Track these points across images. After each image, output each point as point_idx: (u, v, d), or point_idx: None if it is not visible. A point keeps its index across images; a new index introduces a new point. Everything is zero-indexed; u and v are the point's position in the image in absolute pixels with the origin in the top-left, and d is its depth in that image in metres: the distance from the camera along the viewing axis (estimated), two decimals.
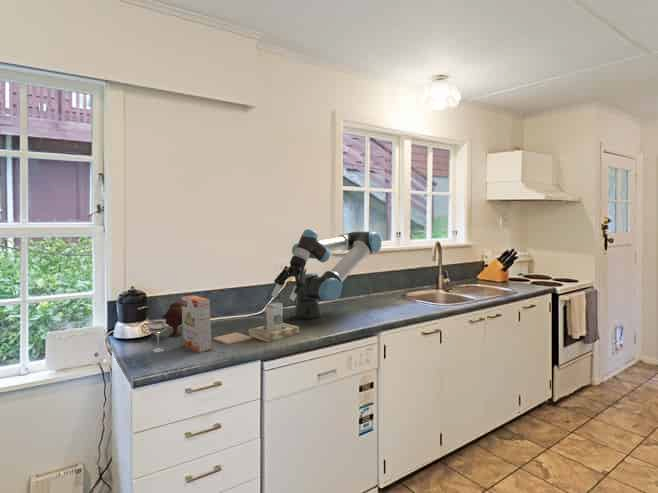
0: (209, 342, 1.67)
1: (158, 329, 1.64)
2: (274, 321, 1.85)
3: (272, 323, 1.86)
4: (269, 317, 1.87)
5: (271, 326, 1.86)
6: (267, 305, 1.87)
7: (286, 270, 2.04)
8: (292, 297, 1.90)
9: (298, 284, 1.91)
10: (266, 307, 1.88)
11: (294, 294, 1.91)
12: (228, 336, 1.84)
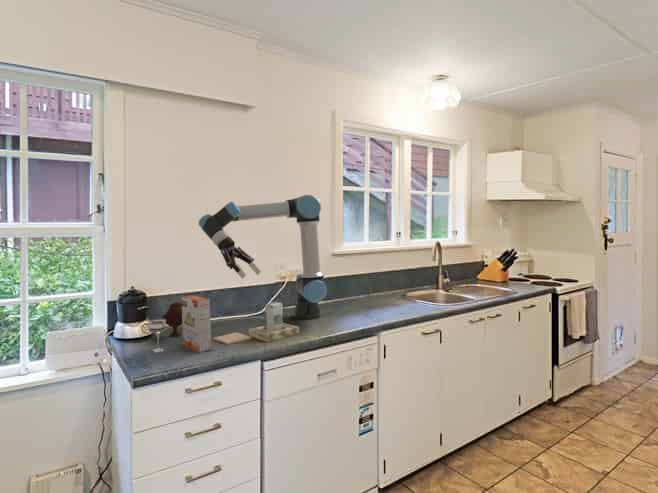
0: (209, 342, 1.67)
1: (158, 329, 1.64)
2: (274, 321, 1.85)
3: (272, 323, 1.86)
4: (269, 317, 1.87)
5: (271, 326, 1.86)
6: (267, 305, 1.87)
7: None
8: (242, 275, 1.85)
9: None
10: (266, 307, 1.88)
11: (240, 272, 1.85)
12: (228, 336, 1.84)
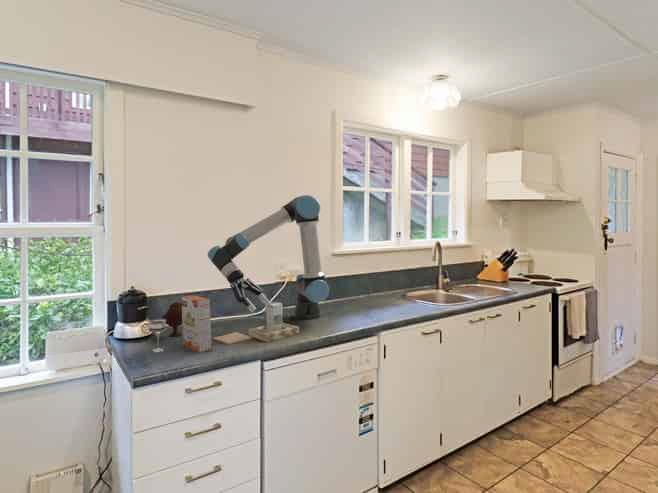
0: (209, 342, 1.67)
1: (158, 329, 1.64)
2: (274, 321, 1.85)
3: (272, 323, 1.86)
4: (269, 317, 1.87)
5: (271, 326, 1.86)
6: (267, 305, 1.87)
7: None
8: (251, 309, 1.83)
9: None
10: (266, 307, 1.88)
11: (249, 306, 1.84)
12: (228, 336, 1.84)
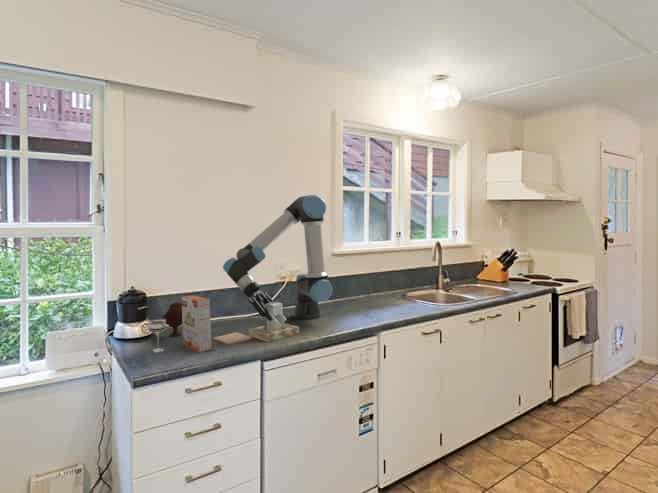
0: (209, 342, 1.67)
1: (158, 329, 1.64)
2: None
3: None
4: None
5: (271, 326, 1.86)
6: (267, 305, 1.87)
7: None
8: (274, 324, 1.84)
9: None
10: (266, 307, 1.88)
11: (272, 321, 1.84)
12: (228, 336, 1.84)
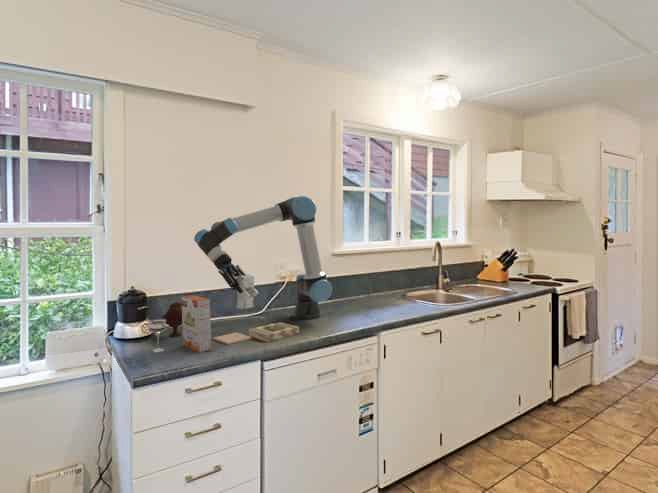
0: (209, 342, 1.67)
1: (158, 329, 1.64)
2: None
3: None
4: None
5: (241, 298, 1.81)
6: (238, 277, 1.82)
7: None
8: (245, 296, 1.79)
9: None
10: (237, 279, 1.82)
11: (243, 293, 1.79)
12: (228, 336, 1.84)
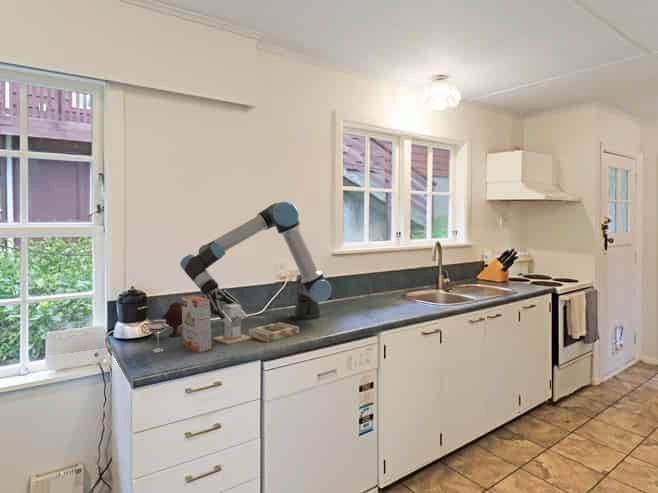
0: (209, 342, 1.67)
1: (158, 329, 1.64)
2: (232, 323, 1.79)
3: (230, 325, 1.79)
4: None
5: (229, 328, 1.80)
6: (225, 307, 1.81)
7: None
8: (227, 322, 1.75)
9: None
10: (224, 309, 1.81)
11: (225, 319, 1.76)
12: None
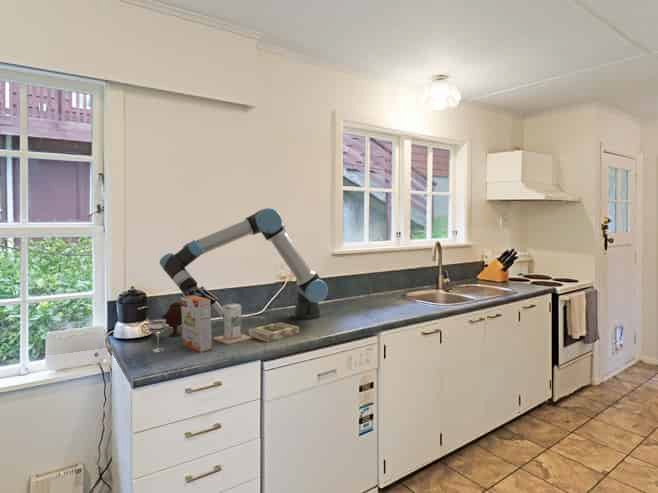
0: (210, 342, 1.67)
1: (158, 329, 1.64)
2: (232, 323, 1.79)
3: (230, 325, 1.79)
4: (227, 319, 1.80)
5: (229, 328, 1.80)
6: (225, 307, 1.81)
7: None
8: None
9: None
10: (224, 309, 1.81)
11: None
12: None
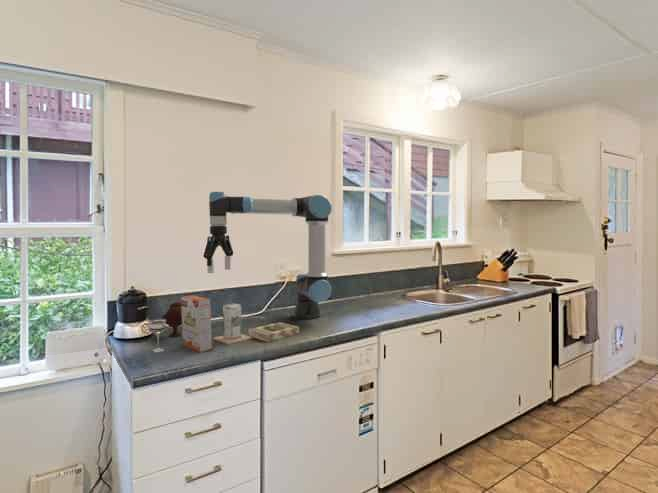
0: (210, 342, 1.67)
1: (158, 329, 1.64)
2: (232, 323, 1.79)
3: (230, 325, 1.79)
4: (227, 319, 1.80)
5: (229, 328, 1.80)
6: (225, 307, 1.81)
7: (224, 240, 1.97)
8: (209, 271, 1.86)
9: None
10: (224, 309, 1.81)
11: (210, 267, 1.86)
12: None
